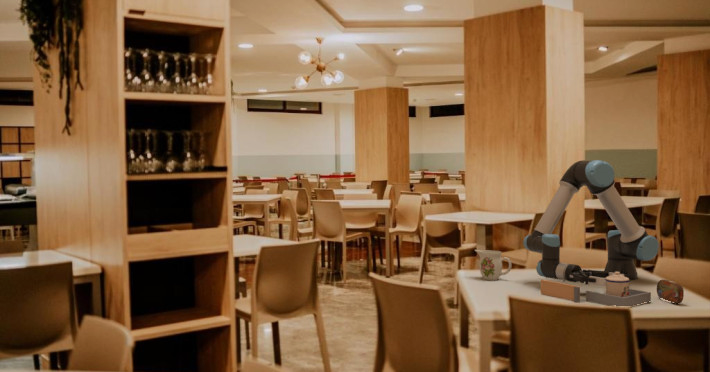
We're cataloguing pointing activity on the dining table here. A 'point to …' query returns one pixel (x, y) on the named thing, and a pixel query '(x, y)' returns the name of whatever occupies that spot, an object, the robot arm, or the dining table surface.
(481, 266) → the pitcher
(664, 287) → the tin
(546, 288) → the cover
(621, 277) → the teacup with lid
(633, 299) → the grey tray
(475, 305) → the dining table surface
